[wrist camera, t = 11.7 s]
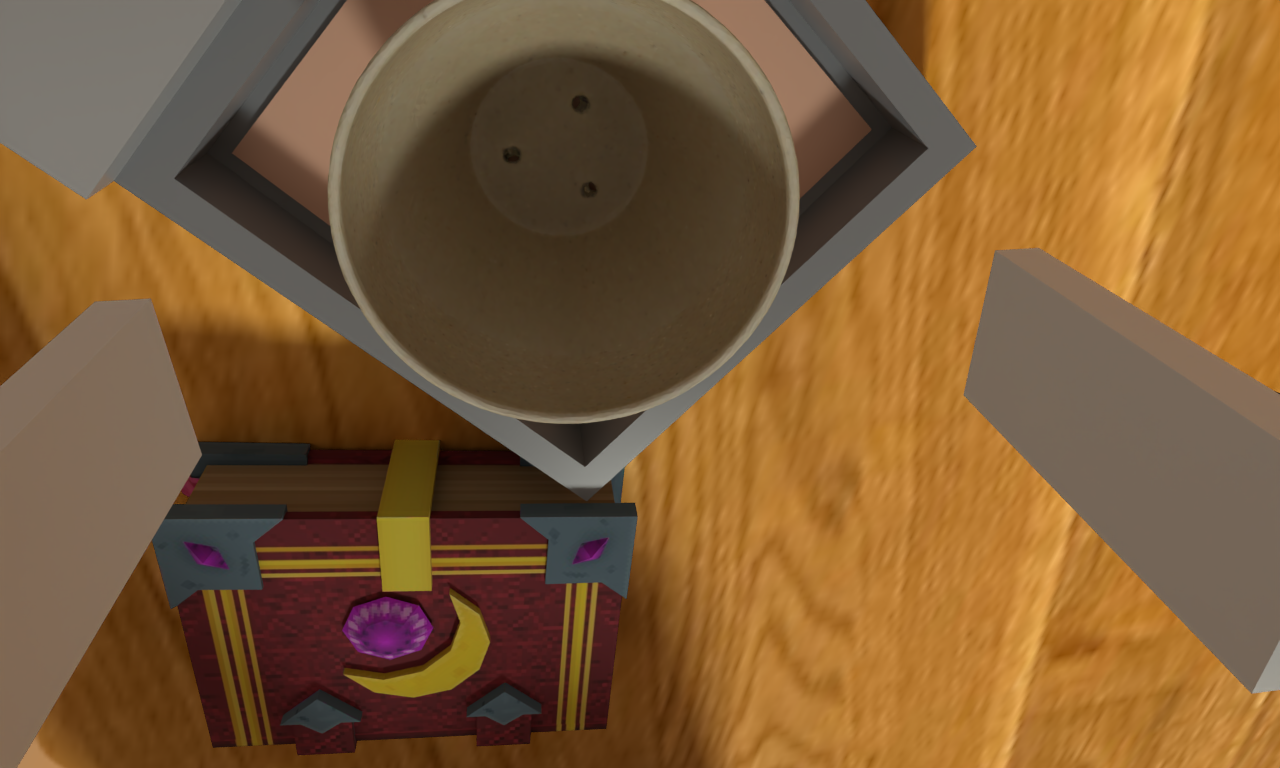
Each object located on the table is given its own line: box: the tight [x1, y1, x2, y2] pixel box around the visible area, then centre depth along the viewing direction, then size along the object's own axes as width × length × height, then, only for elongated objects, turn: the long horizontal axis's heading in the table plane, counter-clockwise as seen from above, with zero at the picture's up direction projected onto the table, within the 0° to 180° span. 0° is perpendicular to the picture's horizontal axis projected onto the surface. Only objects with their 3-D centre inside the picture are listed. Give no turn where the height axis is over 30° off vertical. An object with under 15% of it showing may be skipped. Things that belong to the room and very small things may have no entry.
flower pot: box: [328, 0, 800, 424], centre depth 20 cm, size 10×10×7 cm
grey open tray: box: [0, 0, 977, 501], centre depth 21 cm, size 16×20×5 cm
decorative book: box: [152, 440, 637, 755], centre depth 30 cm, size 11×16×5 cm
